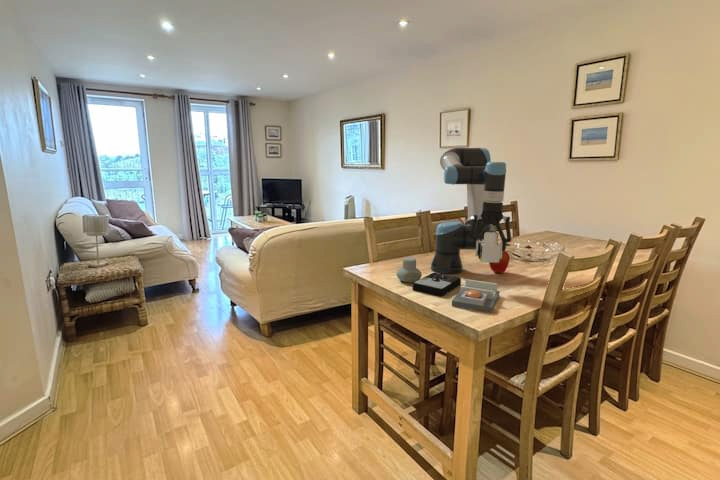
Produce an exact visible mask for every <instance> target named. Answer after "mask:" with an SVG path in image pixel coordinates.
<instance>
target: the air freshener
mask: <svg viewBox="0 0 720 480" xmlns="http://www.w3.org/2000/svg"><path fill="white" fill-rule="evenodd" d="M396 277H397V279H399V280H400V281H402V282H403V283H408V284H413V283H414V282H416V281H418V280H420V279H422V278H421V277H422V271H421V270H420V269H419V268H417V259H416V258H415V257H404V258H402V267H400V268H399V269H398V270H397V271H396Z"/></svg>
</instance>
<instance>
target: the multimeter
mask: <svg viewBox="0 0 720 480" xmlns="http://www.w3.org/2000/svg"><path fill="white" fill-rule="evenodd" d="M461 284H462V278H461V277H459V276H454V275H451V274H444V273H438V272H432V273H430V274H428V275H426V276H424V277H422V278H420V279H419V280H418V281H416V282H413V283H412V291H414V292H419V293H422V294H427V295H431V296H436V297H440V298H443V297H445V296H446V295H447V294H449V293H451V292H452V291H454V289H456V288H458V287H461Z"/></svg>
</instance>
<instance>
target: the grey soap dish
mask: <svg viewBox="0 0 720 480" xmlns="http://www.w3.org/2000/svg"><path fill="white" fill-rule="evenodd" d="M459 287H460V289H459V291H458V292H457V293H456V294H455V296H454V297H453V298H452V300H451V306H452V307H455V308H456V307H457V308H462V309H467V310H474V311H477V312H478V311H479V312H484V313H490V314H492V313H493V311H494V309H495V306H496V304H497V301H498V300H499V297H500V290H498V283H495V282H489V281H482V280H475V279H474V280H473V279H467V278H466V279H465V285H460V286H459ZM469 290H475V291H479V292H481V299H477V298H471V297H467V291H469Z"/></svg>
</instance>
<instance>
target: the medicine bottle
mask: <svg viewBox="0 0 720 480" xmlns="http://www.w3.org/2000/svg"><path fill="white" fill-rule="evenodd" d="M499 257H500V244H499V232H498V231H496V230H495V231H484V232H483V235H482V241H480V242H479V255H478V256H477V258H478V259H479V261H480V262H481V263H489V262H493V263H499Z"/></svg>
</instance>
